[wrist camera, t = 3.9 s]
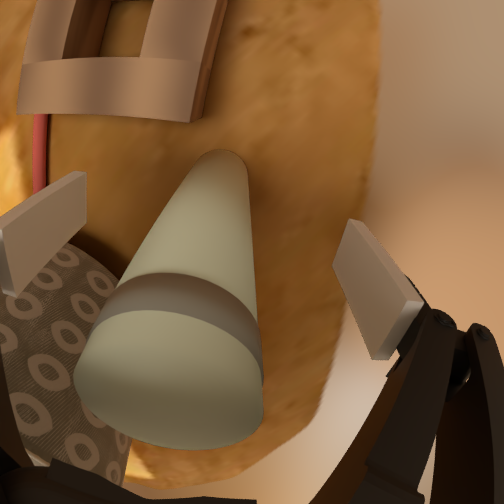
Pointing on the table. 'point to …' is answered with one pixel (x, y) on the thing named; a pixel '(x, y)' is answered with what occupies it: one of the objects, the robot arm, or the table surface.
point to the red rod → (39, 152)
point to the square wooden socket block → (120, 61)
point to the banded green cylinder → (183, 322)
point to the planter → (59, 364)
